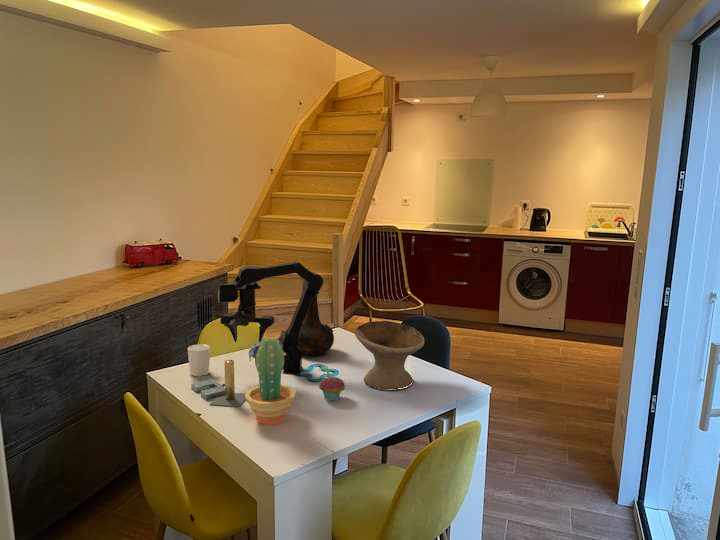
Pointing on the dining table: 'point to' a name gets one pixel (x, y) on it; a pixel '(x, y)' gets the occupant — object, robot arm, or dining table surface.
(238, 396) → the rubber mat
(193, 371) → the white cup
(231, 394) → the brass rod
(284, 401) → the potted cactus
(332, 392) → the cupcake
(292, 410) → the dining table surface
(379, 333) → the bowl
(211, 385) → the vise
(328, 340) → the brown vase
